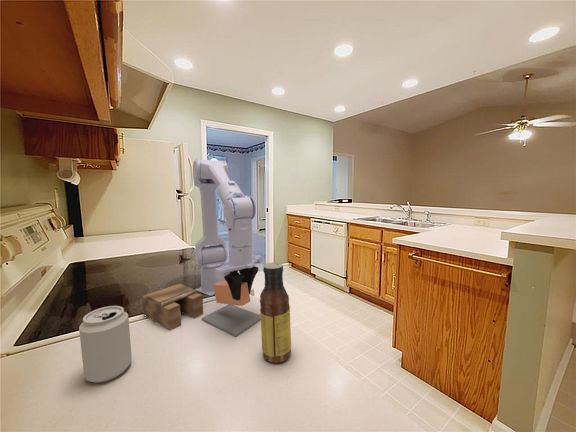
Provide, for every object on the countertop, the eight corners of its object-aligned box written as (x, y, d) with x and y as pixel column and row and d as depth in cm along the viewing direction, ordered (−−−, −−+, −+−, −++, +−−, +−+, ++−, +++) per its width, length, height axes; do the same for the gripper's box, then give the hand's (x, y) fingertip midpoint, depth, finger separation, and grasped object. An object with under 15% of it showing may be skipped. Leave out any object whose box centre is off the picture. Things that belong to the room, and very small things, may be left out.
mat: (229, 305, 74) (229, 303, 74) (262, 318, 67) (262, 316, 67) (201, 320, 66) (201, 318, 66) (235, 337, 58) (235, 334, 58)
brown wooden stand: (143, 315, 68) (142, 292, 67) (176, 301, 76) (175, 281, 75) (169, 330, 61) (168, 305, 60) (203, 313, 69) (202, 291, 68)
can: (114, 386, 44) (108, 324, 42) (73, 386, 44) (66, 323, 43) (140, 357, 51) (136, 303, 50) (105, 357, 51) (100, 302, 50)
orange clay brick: (216, 302, 67) (213, 284, 67) (224, 298, 69) (221, 281, 69) (242, 305, 61) (239, 286, 61) (250, 301, 64) (247, 282, 64)
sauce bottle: (292, 346, 55) (292, 260, 53) (289, 366, 49) (290, 270, 47) (263, 344, 56) (263, 259, 53) (257, 363, 50) (256, 269, 47)
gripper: (229, 253, 53) (231, 312, 55) (270, 241, 65) (270, 290, 67) (208, 249, 57) (210, 304, 59) (251, 238, 69) (251, 284, 71)
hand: (241, 296), depth 63 cm, fingers closed on orange clay brick, 3 cm apart
